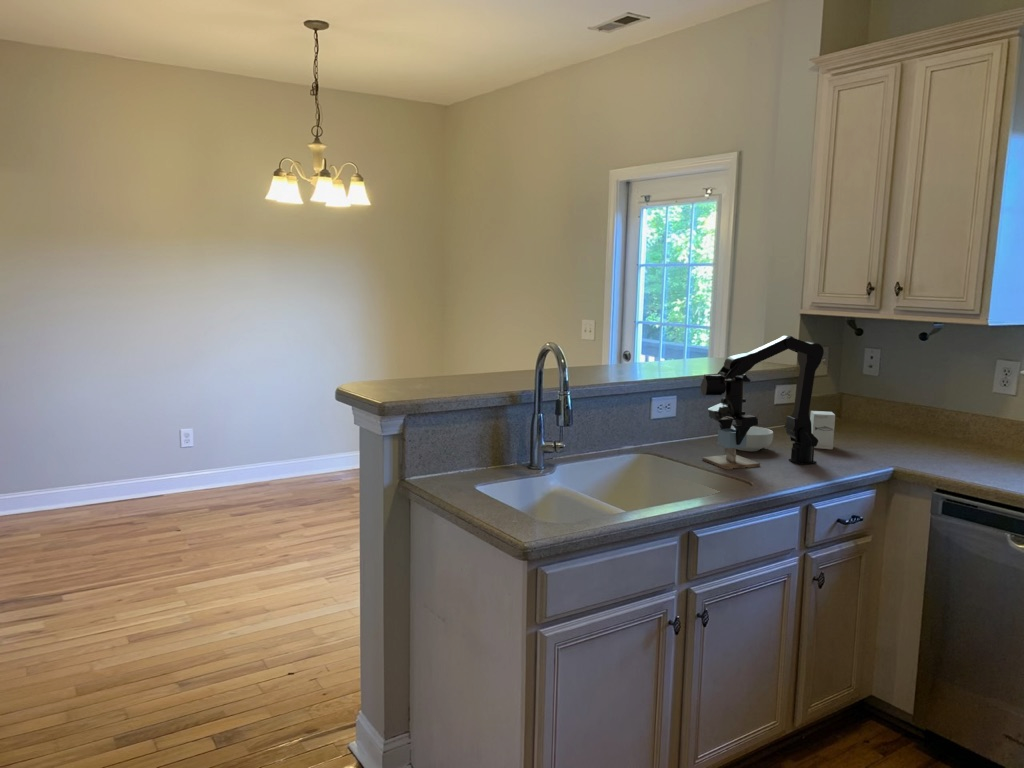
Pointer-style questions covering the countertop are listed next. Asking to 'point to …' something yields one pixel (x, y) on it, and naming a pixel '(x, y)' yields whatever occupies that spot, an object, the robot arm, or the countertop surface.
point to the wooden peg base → (731, 460)
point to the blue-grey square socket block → (729, 438)
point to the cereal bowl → (757, 438)
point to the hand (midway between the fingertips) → (731, 442)
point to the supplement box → (823, 428)
